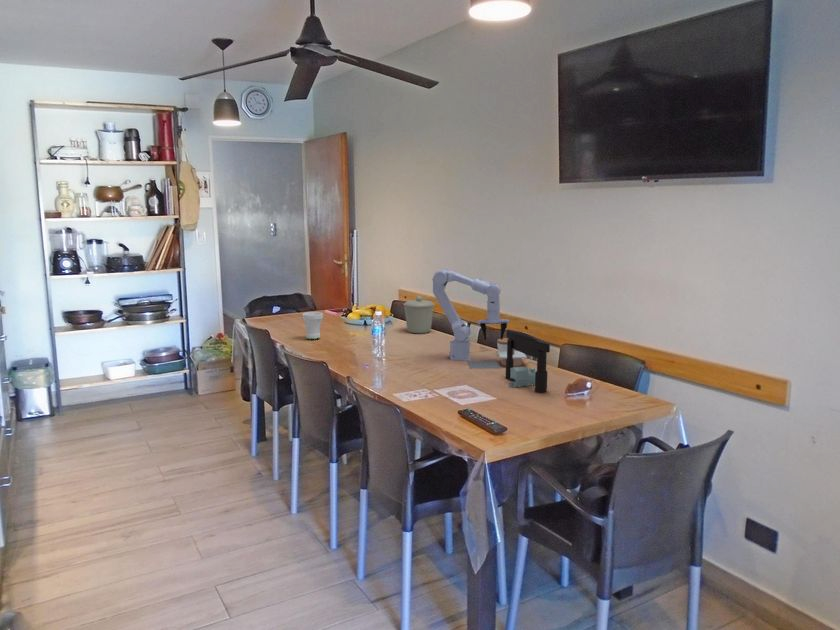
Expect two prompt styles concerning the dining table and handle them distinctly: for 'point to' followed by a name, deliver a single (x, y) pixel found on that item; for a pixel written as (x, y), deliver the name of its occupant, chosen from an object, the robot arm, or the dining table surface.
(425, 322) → the canister
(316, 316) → the cup
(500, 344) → the lidded jar
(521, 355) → the lid
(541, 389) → the black arch frame
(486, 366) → the mat
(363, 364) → the dining table surface
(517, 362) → the bowl
